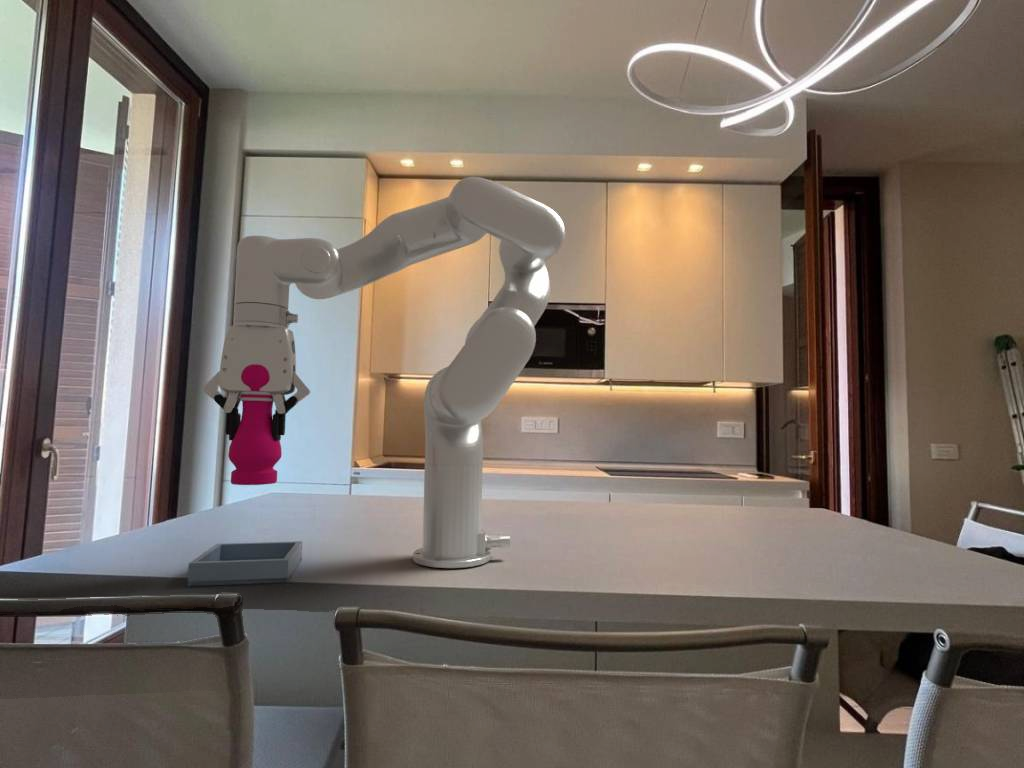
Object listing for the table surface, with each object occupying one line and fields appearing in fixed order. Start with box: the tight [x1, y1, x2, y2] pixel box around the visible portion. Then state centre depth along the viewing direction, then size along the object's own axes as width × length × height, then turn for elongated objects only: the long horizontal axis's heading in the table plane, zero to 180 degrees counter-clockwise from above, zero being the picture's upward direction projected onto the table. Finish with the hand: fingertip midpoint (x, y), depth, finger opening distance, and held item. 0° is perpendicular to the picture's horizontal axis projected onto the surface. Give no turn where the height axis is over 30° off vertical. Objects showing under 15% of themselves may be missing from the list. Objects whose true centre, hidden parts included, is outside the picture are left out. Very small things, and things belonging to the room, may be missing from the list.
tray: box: [187, 540, 303, 587], centre depth 83 cm, size 13×13×3 cm
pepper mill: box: [227, 364, 282, 486], centre depth 84 cm, size 7×7×20 cm
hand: (255, 439), depth 84 cm, fingers closed on pepper mill, 5 cm apart
